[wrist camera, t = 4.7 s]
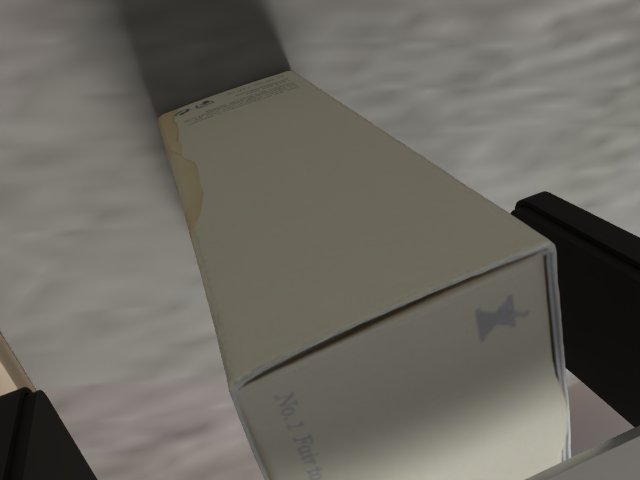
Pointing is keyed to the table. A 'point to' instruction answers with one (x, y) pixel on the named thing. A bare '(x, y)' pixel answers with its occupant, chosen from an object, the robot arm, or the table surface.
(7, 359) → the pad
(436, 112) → the table surface
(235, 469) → the table surface
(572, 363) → the robot arm
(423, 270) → the skincare box
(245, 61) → the table surface
